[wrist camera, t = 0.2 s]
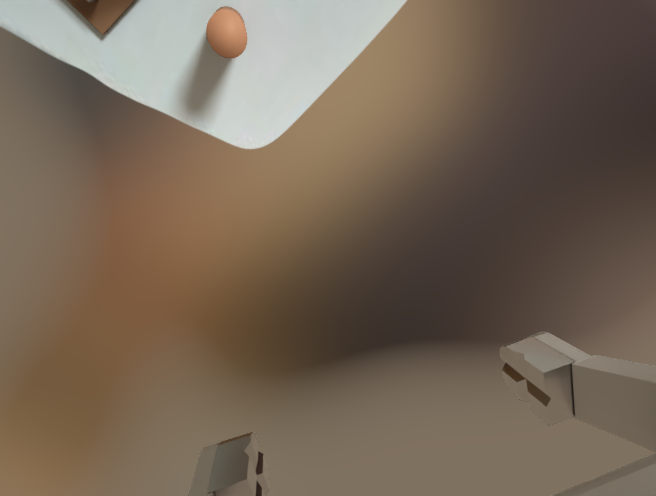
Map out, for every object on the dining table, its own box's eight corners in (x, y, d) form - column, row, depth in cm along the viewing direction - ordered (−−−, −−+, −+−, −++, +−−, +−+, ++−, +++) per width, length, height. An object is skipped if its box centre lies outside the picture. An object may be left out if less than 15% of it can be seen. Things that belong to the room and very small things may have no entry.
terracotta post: (205, 21, 45) (197, 30, 36) (228, -2, 44) (226, 1, 35) (229, 51, 48) (227, 66, 39) (251, 30, 47) (255, 40, 38)
